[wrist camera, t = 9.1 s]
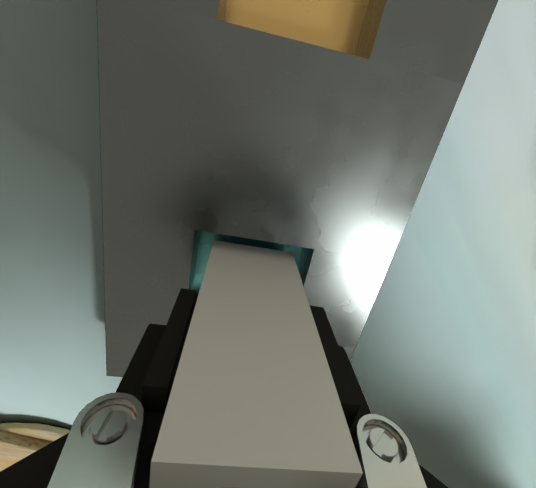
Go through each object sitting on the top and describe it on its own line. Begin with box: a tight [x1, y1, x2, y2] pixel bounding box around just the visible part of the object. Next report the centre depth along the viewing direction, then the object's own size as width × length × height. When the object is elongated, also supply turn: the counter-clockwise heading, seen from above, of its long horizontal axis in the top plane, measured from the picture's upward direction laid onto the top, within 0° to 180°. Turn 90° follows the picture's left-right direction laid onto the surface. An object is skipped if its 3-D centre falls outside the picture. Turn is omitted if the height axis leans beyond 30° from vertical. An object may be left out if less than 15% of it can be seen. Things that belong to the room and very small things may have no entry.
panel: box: [97, 0, 498, 377], centre depth 12 cm, size 12×24×2 cm, turn 169°
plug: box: [149, 240, 363, 488], centre depth 9 cm, size 4×4×10 cm
